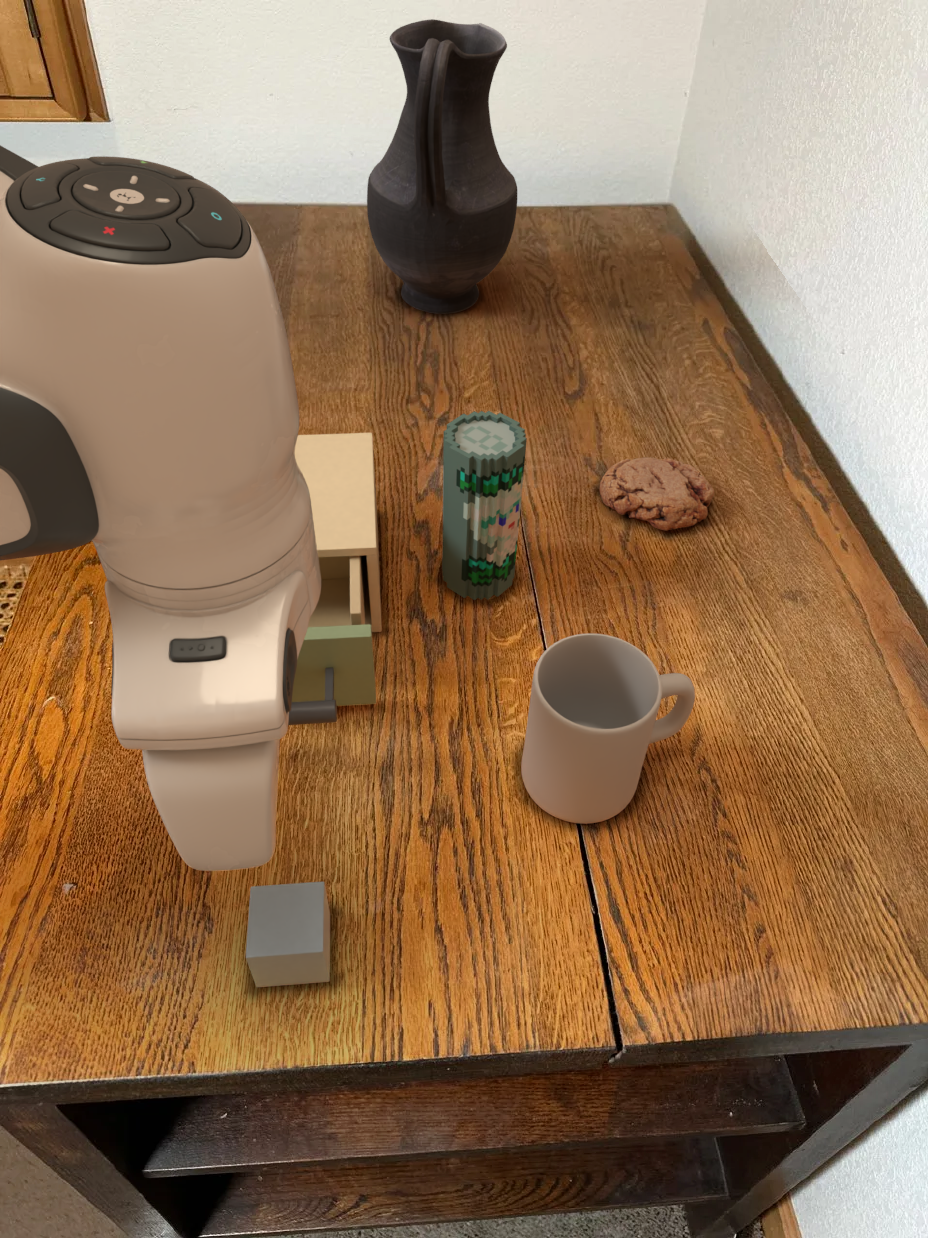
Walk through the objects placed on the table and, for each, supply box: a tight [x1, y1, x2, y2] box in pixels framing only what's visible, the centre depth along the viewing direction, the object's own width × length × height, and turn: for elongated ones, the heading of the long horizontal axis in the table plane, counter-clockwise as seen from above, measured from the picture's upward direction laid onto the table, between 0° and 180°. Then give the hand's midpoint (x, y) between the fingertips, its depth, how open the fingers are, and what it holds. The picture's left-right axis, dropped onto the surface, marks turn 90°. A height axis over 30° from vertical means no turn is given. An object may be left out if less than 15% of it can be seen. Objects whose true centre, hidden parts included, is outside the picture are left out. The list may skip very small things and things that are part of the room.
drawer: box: [288, 555, 377, 726], centre depth 71 cm, size 18×11×8 cm, turn 5°
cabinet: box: [295, 432, 383, 633], centre depth 78 cm, size 15×13×10 cm
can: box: [441, 410, 528, 601], centre depth 77 cm, size 6×6×15 cm
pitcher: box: [366, 18, 518, 315], centre depth 104 cm, size 17×21×30 cm
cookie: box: [599, 456, 715, 531], centre depth 89 cm, size 10×11×3 cm
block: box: [245, 881, 331, 988], centre depth 57 cm, size 4×4×4 cm
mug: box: [520, 632, 696, 825], centre depth 65 cm, size 12×8×11 cm
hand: (260, 749), depth 51 cm, fingers open, 8 cm apart
